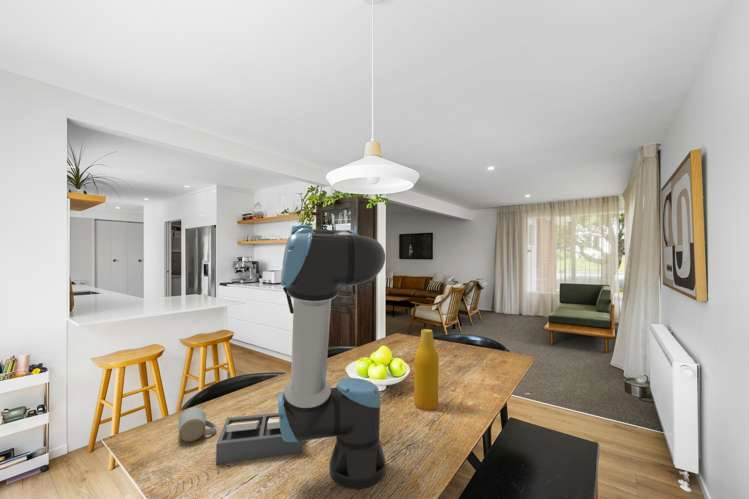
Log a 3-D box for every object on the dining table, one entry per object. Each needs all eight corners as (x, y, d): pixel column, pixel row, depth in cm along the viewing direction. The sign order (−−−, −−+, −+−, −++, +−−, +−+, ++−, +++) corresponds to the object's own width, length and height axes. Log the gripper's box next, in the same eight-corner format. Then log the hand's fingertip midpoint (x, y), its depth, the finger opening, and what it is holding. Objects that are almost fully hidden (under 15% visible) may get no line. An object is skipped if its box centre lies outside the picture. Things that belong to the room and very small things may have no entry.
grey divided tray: (301, 453, 97) (302, 424, 97) (216, 464, 91) (216, 433, 91) (300, 427, 111) (301, 402, 111) (226, 435, 106) (227, 408, 106)
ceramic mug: (178, 446, 99) (179, 420, 99) (178, 433, 106) (179, 409, 106) (217, 437, 105) (218, 413, 105) (214, 425, 112) (215, 402, 112)
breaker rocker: (257, 428, 96) (257, 421, 97) (224, 432, 94) (225, 425, 95) (260, 426, 105) (260, 419, 106) (230, 429, 103) (231, 422, 104)
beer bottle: (442, 405, 129) (443, 330, 129) (429, 413, 122) (430, 334, 122) (423, 398, 135) (423, 326, 136) (409, 405, 128) (410, 330, 129)
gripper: (318, 267, 126) (317, 329, 126) (283, 267, 123) (282, 331, 123) (320, 268, 119) (319, 334, 119) (282, 268, 116) (281, 335, 115)
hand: (300, 332), depth 121 cm, fingers closed
